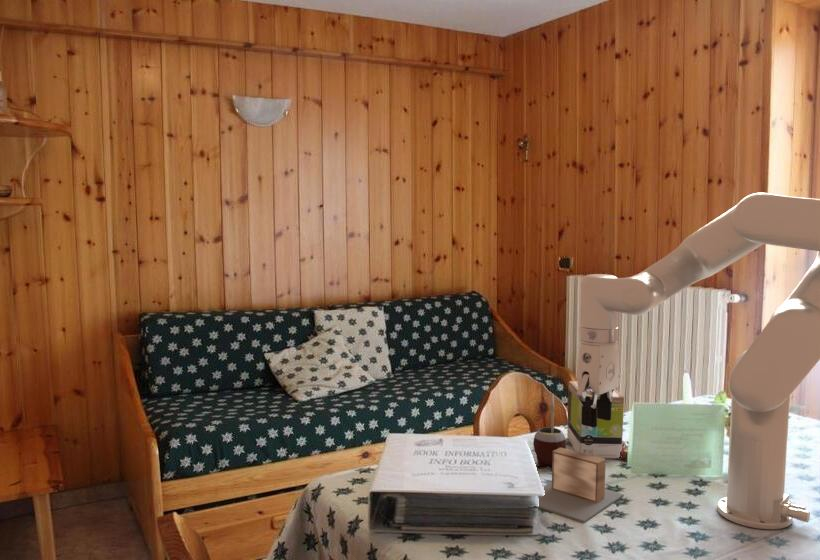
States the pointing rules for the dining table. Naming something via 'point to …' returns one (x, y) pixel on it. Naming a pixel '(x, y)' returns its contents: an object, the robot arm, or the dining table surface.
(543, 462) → the mate gourd
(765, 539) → the dining table surface
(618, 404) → the tea box
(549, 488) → the mat
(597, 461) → the slab
